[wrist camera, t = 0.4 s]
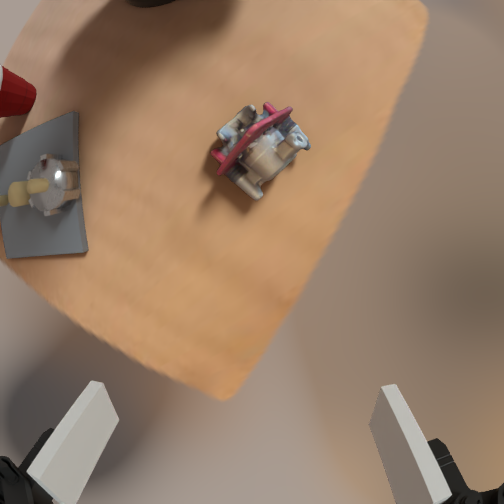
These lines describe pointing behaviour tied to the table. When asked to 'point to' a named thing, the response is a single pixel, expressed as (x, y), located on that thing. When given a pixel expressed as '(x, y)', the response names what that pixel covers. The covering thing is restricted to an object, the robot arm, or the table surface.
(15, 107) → the plastic cup
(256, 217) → the table surface
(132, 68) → the table surface
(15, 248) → the plate
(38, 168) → the seated gear
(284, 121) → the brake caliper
